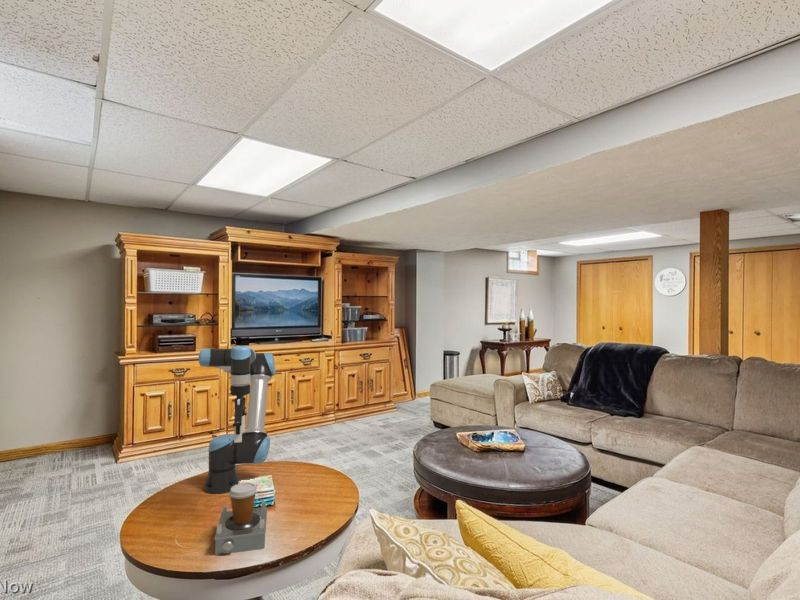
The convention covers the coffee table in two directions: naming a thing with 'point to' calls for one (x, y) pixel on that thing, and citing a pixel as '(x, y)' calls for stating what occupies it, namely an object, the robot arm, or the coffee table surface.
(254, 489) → the disposable coffee cup
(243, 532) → the hot plate
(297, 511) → the coffee table surface
